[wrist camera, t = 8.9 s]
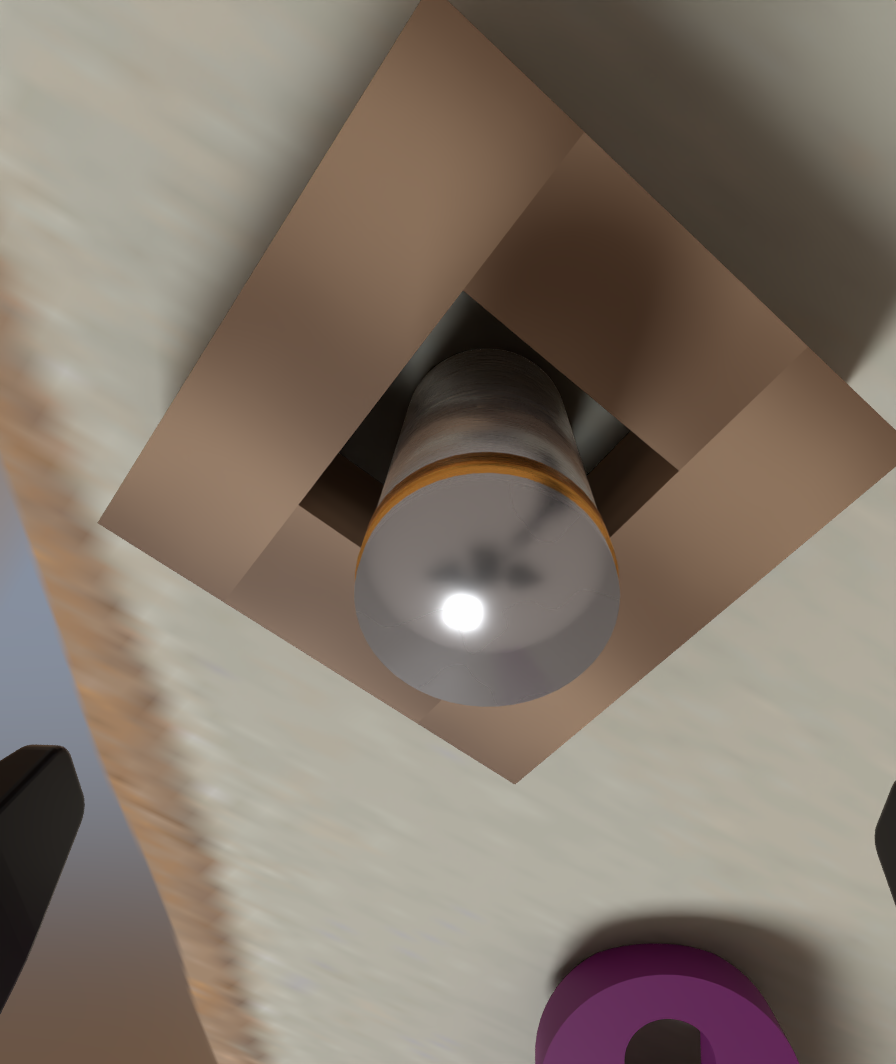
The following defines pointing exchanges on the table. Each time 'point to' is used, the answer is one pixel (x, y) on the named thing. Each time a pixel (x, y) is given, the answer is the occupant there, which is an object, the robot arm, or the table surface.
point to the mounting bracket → (658, 1008)
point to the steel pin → (487, 541)
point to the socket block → (540, 321)
